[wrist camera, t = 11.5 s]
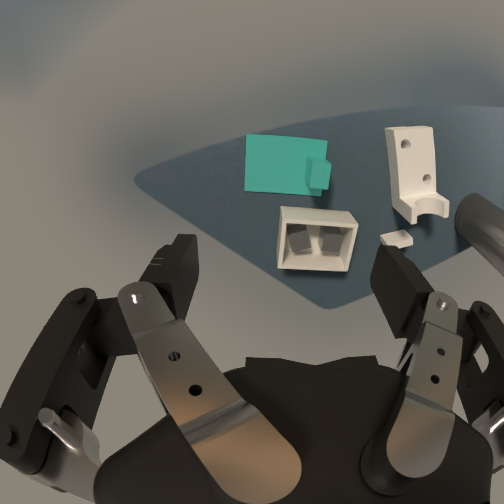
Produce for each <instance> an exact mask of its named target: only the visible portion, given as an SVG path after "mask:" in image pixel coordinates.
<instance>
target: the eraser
mask: <svg viewBox="0 0 504 504" xmlns="http://www.w3.org/2000/svg"><path fill="white" fill-rule="evenodd" d="M380 240H381V242H382V244H383V245H393V246H397V247H398V248H403V247H407V246H410V245H413V238H412V237H411V236H410V235H409V234H408V233H407V232H406V231H405V229H403V230H399V231H395V232H391V233H387V234H383V235H380Z"/></svg>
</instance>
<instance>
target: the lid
mask: <svg viewBox="0 0 504 504" xmlns="http://www.w3.org/2000/svg"><path fill="white" fill-rule="evenodd" d="M327 142H328V141H325V140H317V139H308V138H298V137H286V136H273V135H255V134H247V139H246V166H245V191H254V192H272V193H286V194H300V195H311V196H321V194H322V189H327V190H328V186H329V179H330V171H331V163H329V162H328V161H327V160H326V152H327Z"/></svg>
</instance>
